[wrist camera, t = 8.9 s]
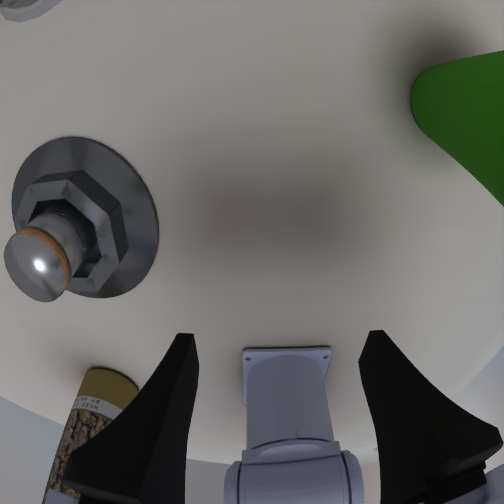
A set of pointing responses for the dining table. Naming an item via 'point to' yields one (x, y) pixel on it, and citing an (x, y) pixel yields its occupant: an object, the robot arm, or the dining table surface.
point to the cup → (466, 114)
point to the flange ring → (93, 210)
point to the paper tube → (89, 418)
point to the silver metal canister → (49, 250)
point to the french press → (25, 8)
